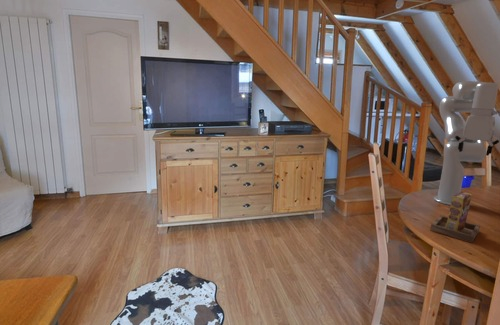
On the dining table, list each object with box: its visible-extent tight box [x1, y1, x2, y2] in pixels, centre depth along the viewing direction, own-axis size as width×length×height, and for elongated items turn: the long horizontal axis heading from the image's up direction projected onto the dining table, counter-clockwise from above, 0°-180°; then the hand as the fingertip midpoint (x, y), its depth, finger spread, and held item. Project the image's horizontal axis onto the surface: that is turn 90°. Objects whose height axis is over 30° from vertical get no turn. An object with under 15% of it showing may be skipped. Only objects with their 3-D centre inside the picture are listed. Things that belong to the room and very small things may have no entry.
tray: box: [430, 215, 481, 244], centre depth 127 cm, size 14×14×2 cm
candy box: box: [446, 191, 473, 231], centre depth 126 cm, size 9×4×15 cm, turn 127°
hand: (473, 153), depth 133 cm, fingers open, 9 cm apart
